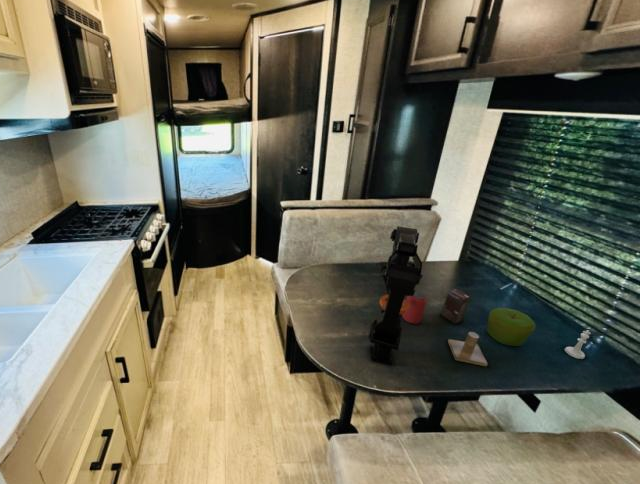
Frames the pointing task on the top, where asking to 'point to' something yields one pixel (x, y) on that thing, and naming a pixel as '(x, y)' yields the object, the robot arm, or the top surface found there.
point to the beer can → (415, 307)
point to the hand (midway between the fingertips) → (390, 297)
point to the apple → (509, 326)
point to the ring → (405, 304)
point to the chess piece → (578, 346)
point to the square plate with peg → (468, 350)
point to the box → (455, 305)
